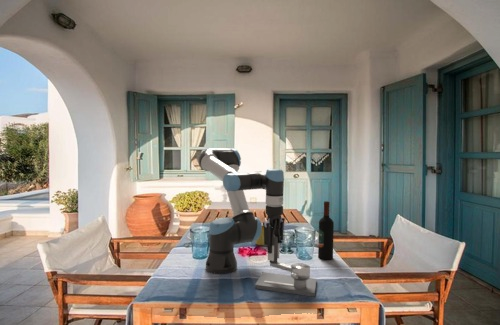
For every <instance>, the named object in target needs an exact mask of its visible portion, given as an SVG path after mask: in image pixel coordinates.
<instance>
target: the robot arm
mask: <svg viewBox="0 0 500 325" xmlns="http://www.w3.org/2000/svg"><path fill="white" fill-rule="evenodd" d="M241 164H242V158H241V155H240V153H239V151H238V150H237V149H235V148H230V147H227V148H222V147H221V148H219V147H218V148H215V147H214V148H213V147H211V148H207V149H205V150H202V152H200V154H199V156H198V165H199V167H200V168H201V169H203V170H204V171H205V172H207V173H208V172H209V173H211V174H212V175H213V176H215V177H216V178H217V179H219V180H220V181H222V184H223V187H224V190H225V191H226V193H227V197H228V201H229V203H230V204H229V205H230V208H231V212H232V217H229V216H228V217H219V218H216V219H214V220H212V221H211V222H210V223H209V230H208V233H209V238H208V240H209V243H208V245H209V246H208V248H209V253H208V256H207V258H206V262H205V270H206V271H207V272H209V273H211V274H215V275H216V274H217V275H224V274H225V275H226V274H229V273H232V272H235V271H236V270H238V262H237V261H238V260H237V259H236V258H237V257H236V255H235V251H234V250H235V249H234V246H235V245H239V244H244V243H245V244H246V243H252V242H256V241H255V240H258V239H259V237H260V235H261V232H262V226H264V244H265V245H264V246H267V260H268V261H270V260H271V261H274V245H273V240H274V236H277V237H278V255H277V259H280V248H281V247H280V246H281V244H282V243H283V240H284V229H285V228H284V226H285V220H286V219H285V217H282V215H283V214H284V187H285V186H284V185H285V182H284V181H285V178H284V177H285V176H284V170H283V169H280V168H269V169H266V172H262V171H254V172H239V169H240V167H241ZM259 189H260V190H265V215H266V216H267V218H266V221H264V222H263V223H262V221H261V219H260V218H259V217H257V216H255V215H254V212H253V211H251V210H250V209H249V205H248V201H247V199H246V195H245V192H244V191H247V190H259Z"/></svg>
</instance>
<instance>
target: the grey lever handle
mask: <svg viewBox="0 0 500 325" xmlns="http://www.w3.org/2000/svg"><path fill="white" fill-rule="evenodd" d="M273 245H274V261H271V260H269V266H270V267H273V268H276V269H280V270H282V271H287V272H289V273H290V276H291V277H292V278H293V279H295V280H300V281H304V280H308V279H309V278H311V266H309V265H308V264H306V263H301V262H298V263H297V262H296V263H292V264H291V265H290V264H286V263H281V262H279V261H278V258H277V255H278V237H277V236H274V240H273Z"/></svg>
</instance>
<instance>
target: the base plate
mask: <svg viewBox="0 0 500 325" xmlns="http://www.w3.org/2000/svg"><path fill="white" fill-rule="evenodd" d="M254 285H255V286H254V288H255V289H258V290H266V291H272V292H278V293H279V292H280V293H287V294H294V295H299V296H307V297H308V296H309V297H315V295H316V289H317V288H316V287H317V278H314V277H310V278H309V279H308V280H304V281H300V280H295V279H293V278H292V277H291V274H290V275H289V274H281V273H274V272H272V273H271V272H264V271H262V272H261V274H260V276H259V278H258V280H257V281H256V283H255V284H254Z"/></svg>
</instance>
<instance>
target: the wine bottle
mask: <svg viewBox="0 0 500 325" xmlns="http://www.w3.org/2000/svg"><path fill="white" fill-rule="evenodd" d="M334 227H335V226H334V220H333V218H331V217H330V201H324V202H323V216H322V217H321V218H320V219H319V222H318V241H317V242H318V246H317V247H318V248H317V249H318V250H317V256H318V259H319V260H321V261H324V262H325V261H326V262H327V261H328V262H329V261H333V259H334V231H335V230H334Z"/></svg>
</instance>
